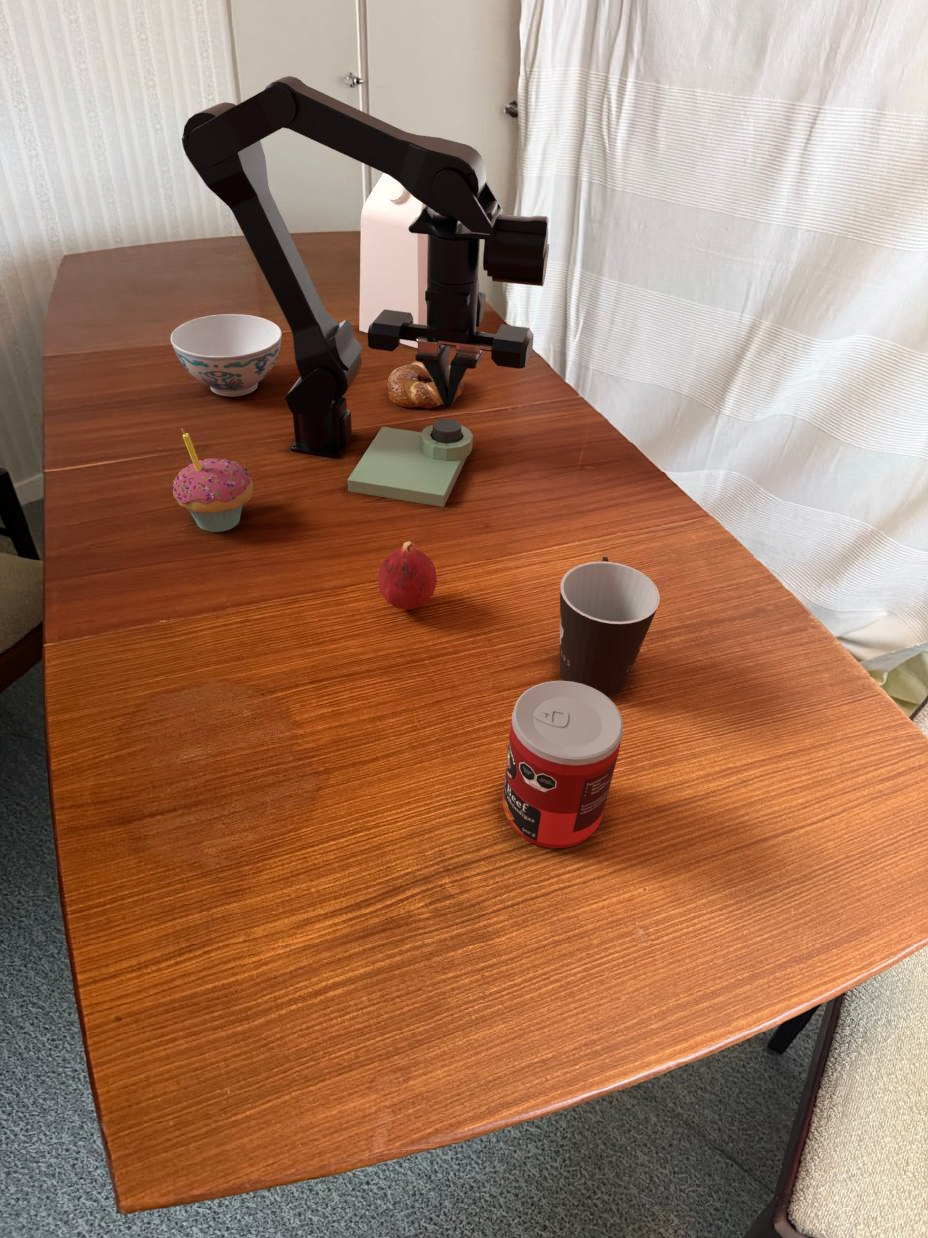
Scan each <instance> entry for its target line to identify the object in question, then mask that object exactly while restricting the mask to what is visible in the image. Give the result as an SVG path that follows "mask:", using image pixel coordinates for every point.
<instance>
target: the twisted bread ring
mask: <svg viewBox="0 0 928 1238" xmlns="http://www.w3.org/2000/svg"><path fill="white" fill-rule="evenodd" d="M449 371H450V364H449ZM464 388H465V382H464V381H463V380H462V382H461V384H460V387H459V390H458V392H457V395H456V398H455V400H454V402H455V401H457V399H458V397H460V396H461V395H462V393H463V392H464ZM387 392H388V393H387V394H388V398H389V400H391V402H392V403H393V404H395V405H396V406H398V407H402V408H409V409H411V408H417V407H419V408H423V409H428V410H429V409H434V408H437V407H439V406H441V405H442V406H444V404H443V401H442V399H441V397H440V394H439V392H438V390H437V388H436V385H435V383H434V381H433V379H432V377H431V376H430V374H429V372H428V371H427V369H426V367H425V366H424V364H423V363H422V362H418V361H416V360H415V361H413V362H412V363H410V364H404V365H402V366H399V367H397V368H395V369H394V370H392V372H390V373H389V376H388V379H387Z"/></svg>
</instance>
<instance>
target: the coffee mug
mask: <svg viewBox="0 0 928 1238" xmlns="http://www.w3.org/2000/svg"><path fill="white" fill-rule="evenodd" d="M559 584H560V585H559V676H560V678H561V681H570V682H576V683H580V684H584V685H587V686H589V687H592V688H594V689H596V690H598V691H600V692H601V693H603V694H604V695H606V696H607V697H608V698H610V697H613V696H615V695H617V694H619V693H620V692H621V691H623V690H624V688H625V687H626V685H627V682H628V680H629V678H630V675H631V673H632V670H633V668H634V665H635V663H636V661H637V658H638V656H639V654H640V651H641V648H642V646H643V645H644V644H643V643H644V642H645V639H646V636H647V634H648V631H649V629H650V628H651V624H652V622H653V621H654V617H655V615H656V613H657V610H658V607H659V605H660V602H661V595H660V591H659V589H658V587H657V585H656V583H655V582H653V580H652V579H651V578H650V577H649V576H647V575H646V574H645V573H643V572H642V571H640V570H638V569H636V568H634V567H631V566H629V565H626V564H622V563H619V562H613V561H609V557H608V556H602V559H601V561H600V560H599V561H589V562H585V563H581V564H579V565H575V566H574V567H572V568H570V569H569V570H568V571H567V572H565V573H564V575H563V576H562V578H561V580H560V583H559Z"/></svg>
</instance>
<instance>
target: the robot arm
mask: <svg viewBox="0 0 928 1238" xmlns="http://www.w3.org/2000/svg"><path fill="white" fill-rule="evenodd" d="M282 129H287V130H290V131H292V132H294V133H296V134H298V135H301V136H303V137H305V138H307V139H309V140H312V141H314V142H316V143H317V144H321V145H323V146H325V147H327V148H329V149H331V150H333V151H335V152H337V153H340V154H342V155H344V156H347V157H348V158H351V159H352V160H355V161H357V162H360V163H362V164H364V165H366V166H368V167H369V168H372V169H374V170H377V171H378V172H381V173H382V174H383V173H385V174H388V175H389V176H391V177H392V178H394V179H395V180H397V181H398V182H399V183H400V184H401V185H402V186H403V187H404V188H405V189H406V190H407V191H408V192H409V193H410V194H411V195H412V196H413V197H415V198H416V199H418V200H419V201H420V202H422V203H423V204H425V205H426V206H425V207H424V209H423V210H422V212H421V214H420V215H419V216H418V217H416V218H415V219H414V221H413V222H412V223H411V225H410V226H409V232H411V233H417V234H428V240H427V290H426V291H425V301H426V304H427V325H420V324H413V316H412V314H411V313H409V312H401V311H393V310H385V309H384V310H383V311H382V312H381V313H380V314H379V315H378V316H377V317H376V319H375V320H374V321H373V322H372V323H371V324H370V326H369V329H368V333H367V347H369V349H371V350H378V351H386V352H393V351H395V350H396V349H397V348H398V347H399V346H400V345H401V343H400V339H401V340H409V341H416V342H417V343H418V348H417V352H416V354H415V355H414V360H415V361H418V362H422V363H423V364H424V366H425V367H426V369H427V371H428V372H429V374H430V376H431V377H432V379H433V381H434V383H435V385H436V388H437V390H438V392H439V394H440V397H441V399H442V401H443V404H444V405H443V406H444V407H445V408H450V409H451V408H452V407H453V405H454V403H455V401H456V400H455V398H456V395H457V392H458V390H459V387H460V384H461V382H462V381H463V379H464V376H465V374H466V372H467V371H468V369H470V370H472V369H473V370H474V369H476V368H477V367H478V364H479V363H480V361H481V359H482V357H483V355H484V354H485V352H491V353H490V359H491V360H492V362H493V363H494V364H495V365H496V366H497V367H503V368H511V369H517V370H518V369H519V370H521V369H524V368H526V366H527V364H528V361H529V359H530V357H531V354H532V352H533V349H534V347H533V346H534V333H533V331H532V330H531V328H530V327H526V326H525V327H524V326H519V325H518V326H517V325H511V324H510V325H508V324H503V323H501V324H500V326H499V327H498V329H497V331H496V333H489V332H484V331H478V330H477V328H480V326H481V325H482V321H483V320H484V315H485V306H486V300H487V299H486V297H487V293H486V292H482V291H480V279H479V275H480V273H479V272H480V271H479V270H480V252H481V251H480V250H481V240H484V242H483V244H484V245H483V253H482V254H483V255H482V256H483V257H482V269H483V271H485V272H486V276H487V277H489V278H491V280H492V282H494V283H495V282H496V283H505V284H516V285H527V286H536V287H544V285H545V282H546V281H545V280H546V274H547V269H548V268H547V267H548V261H549V252H550V243H548V242H549V221H550V218H549V216H545V215H532V216H524V215H512V214H503V211H504V210H503V207H502V205H501V203H500V201H499V200H498V198H497V197H496V195H495V193H494V191H493V190H492V189H491V186H490V185H489V183H488V181H487V167H486V165H485V162H484V159H483V157H482V155H481V154H480V153H479V151H478V150H477V149H475V148H474V147H472V146H471V145H469V144H466V143H462V142H458V141H453V140H451V139H450V140H449V139H446V138H443V137H437V136H430V135H429V136H428V135H420V134H416V133H412V132H407V131H405V130H403V129H401V128H399V127H396V126H394V125H392V124H390V123H388V122H386V121H384V120H381V119H379V118H377V117H375V116H373V115H371V114H368V113H366V112H364V111H362V110H360V109H358V108H356V107H353V106H351V105H350V104H347V103H345V102H343V101H341V100H338V99H336V98H334V97H332V96H330V95H328V94H326V93H325V92H322V91H319V90H317V89H315V88H313V87H312V86H309V85H307V84H306V83H304V82H303V80H301V79H299V78H298V77H295V76H292V75H288V76H283V77H281V78H278V79H277V80H274V81H272V82H270V83H269V84H268V85H266V86H265V88H264V89H263V90H261V91H260V92H258V93H256V94H255V95H253V96H251V97H249V98H247V99H246V100H243V101H242V102H240V103H238V104H235V103H234V102H233V103H232V102H226V101H224V102H221V103H216V104H215V105H212V106H211V107H210V106H209V107H207V108H205V109H203V110H201V111H199V112H197V113H194V114H193V115H192V116H191V117H189V118H188V119H187V121H186V123H185V125H184V126H183V131H182V137H181V144H182V148H183V151H184V154H185V157H187V160H188V161H189V162H190V165H192V167H193V168H194V170H195V171H196V173H197V174H198V176H199V177H200V178H201V180H202V181H203V183H204V184H205V186H206V187H207V188H208V189H209V190H210V191H211V192H212V193H213V194H214V195H215V196H217V197H218V199H219V200H221V201H222V202H223V203H224V204H225V205H226V206H227V207H228V208H229V209H230V211H231V212H232V214H233V216H234V219H235V220H236V222H237V224H238V226H239V228H240V230H241V232H242V234H243V236H244V238H245V241H246V242H247V244H248V247H249V249H250V250H251V252H252V255H253V256H254V258H255V261H256V262H257V264H258V266H259V269H260V270H261V272H262V274H263V276H264V279H265V280H266V283H267V284H268V287H269V288H270V290H271V293H272V295H273V296H274V298H275V300H276V302H277V304H278V306H279V309H280V311H281V313H282V315H283V316H284V318H285V320H286V322H287V324H288V326H289V328H290V331H291V335H292V343H293V344H292V345H293V353H294V354H293V355H294V361H295V364H296V367H297V370H298V373H299V377H298V379H297V380H296V382H295V383H293V386H291V388H290V389H289V391H288V392H287V394H285V396H284V400H285V402H286V405H287V407H288V409H289V411H290V413H292V422H293V423H292V424H293V432H294V433H293V434H294V441H293V443H291V445H290V451H291V452H295V453H301V454H307V455H314V456H320V457H325V458H332V459H337V458H339V457H340V455H342V454H343V451H344V450H345V448H347V447H348V445H349V444H350V443H351V441H352V440H353V437H354V432H353V429H352V428H353V427H352V411H351V410H349V409H348V404H347V402H348V401H347V398H346V397H344V395H345V394H347V391H348V390H349V388H350V387H351V385H352V384H353V383H354V381H355V380H356V377H357V376H358V374H359V372H360V369H361V367H362V364H363V363H362V360H363V359H362V356H361V352H362V351H363V349H364V347H363V346H362V345H361V344H360V343H359V341H358V340H357V338H356V336H355V334H354V330H353V327H352V324H351V321H350V320H349V319H345V320H343V321H341V322H340V323H339V322H338V321H337V320H336V319H335V318H333V317H332V316H331V315H330V314H329V313H328V312H327V310H326V308H325V306H324V304H323V302H322V299H321V298H320V296H319V294H318V291H317V289H316V287H315V285H314V282H313V280H312V278H311V276H310V274H309V272H308V270H307V268H306V266H305V263H304V261H303V259H302V258H301V257H302V256H301V255H300V253H299V251H298V249H297V245H296V244H295V241H294V240H293V237H292V236H291V234H290V231H289V229H288V227H287V225H286V223H285V220H284V219H283V216H282V214H281V212H280V209H279V207H278V206H277V204H276V201H275V199H274V197H273V195H272V192H271V190H270V186H269V179H268V178H269V177H268V170H267V160H266V155H265V151H264V148H263V144H262V142H261V141H262V140H263V139H265V138H267V137H268V136H271V135H272V134H275V133H276V132H277V131H279V130H282ZM451 347H454V348H455V352H456V353H455V354H454V356H453V357H452V360H451V361H450V351H451ZM449 365H450V371H449ZM456 399H457V398H456ZM454 400H455V401H454Z"/></svg>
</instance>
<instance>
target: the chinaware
mask: <svg viewBox="0 0 928 1238" xmlns="http://www.w3.org/2000/svg"><path fill="white" fill-rule="evenodd" d="M282 337H283V335H282V330H281V328H280V327H279V326H278V324H276V323H275V322H273V321H271V320H269V319H267V318H263V317H260V316H256V315H250V314H240V313H239V314H238V313H225V314H222V313H221V314H214V315H213V314H212V315H207V316H202V317H197V318H194V319H190V320H188V321H186V322H184V323H182V324H180V325H179V326H177V327H176V328H175V329H174V330H173V331H172V332H171V334H170V343H171V345H172V348H173V350H174V353H175V355H176V357H177V358H178V361H180V363H181V364H182V366H183V367H184V369H185V370H186V371H187V372H188V373H189V374H190V375H191V376H192V377H193V378H195V379H196V380H197V381H199V382H201V383H202V384H204V385H206V386H208V387H209V388H210V390H211V392H213V393H214V394H216V395H218V396H222V397H241V396H245V395H248V394H251V393H253V392H254V391H255V390H256V389H258V386H259V382H261V381H263V380H264V379H265V378H266V377H267V376H268V375H269V373H271V371H272V370H273V368H274V366H275V364H276V363H277V360H278V358H279V354H280V351H281V345H282Z"/></svg>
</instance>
